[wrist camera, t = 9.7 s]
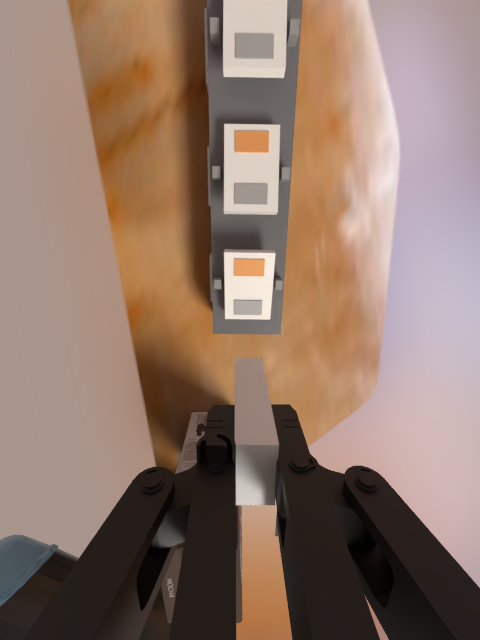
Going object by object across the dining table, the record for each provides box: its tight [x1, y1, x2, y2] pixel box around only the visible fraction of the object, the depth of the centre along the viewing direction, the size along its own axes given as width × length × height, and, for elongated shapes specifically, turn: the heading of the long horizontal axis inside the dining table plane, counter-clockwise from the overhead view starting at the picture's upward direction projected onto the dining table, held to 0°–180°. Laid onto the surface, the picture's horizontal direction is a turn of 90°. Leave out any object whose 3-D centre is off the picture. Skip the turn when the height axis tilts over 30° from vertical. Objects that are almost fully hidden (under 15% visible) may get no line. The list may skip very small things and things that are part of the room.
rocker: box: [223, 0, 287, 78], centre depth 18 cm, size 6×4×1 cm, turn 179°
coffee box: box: [161, 412, 242, 623], centre depth 29 cm, size 9×6×16 cm
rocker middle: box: [224, 124, 280, 215], centre depth 21 cm, size 6×4×1 cm, turn 179°
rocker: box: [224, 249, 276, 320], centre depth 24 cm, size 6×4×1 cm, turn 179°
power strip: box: [204, 0, 302, 334], centre depth 24 cm, size 27×7×6 cm, turn 179°
